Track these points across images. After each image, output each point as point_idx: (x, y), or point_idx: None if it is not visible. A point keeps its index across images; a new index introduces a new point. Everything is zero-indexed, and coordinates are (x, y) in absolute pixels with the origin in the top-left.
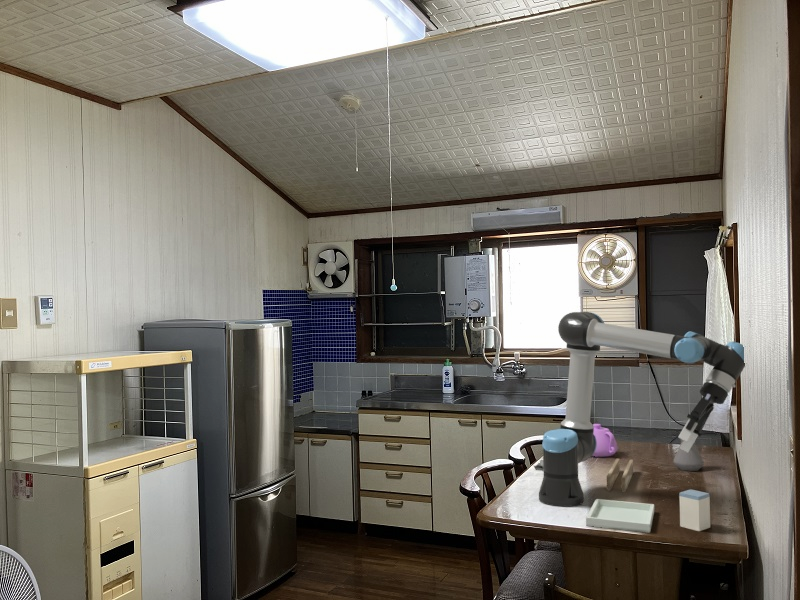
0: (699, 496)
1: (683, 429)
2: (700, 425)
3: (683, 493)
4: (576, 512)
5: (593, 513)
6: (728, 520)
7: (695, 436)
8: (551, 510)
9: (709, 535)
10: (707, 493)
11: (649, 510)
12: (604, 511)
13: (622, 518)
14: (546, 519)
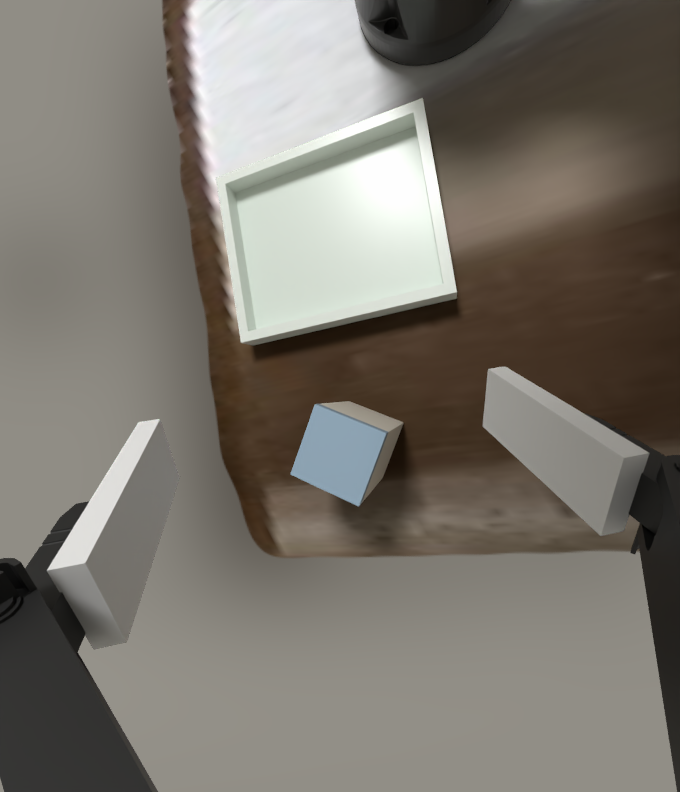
0: (297, 477)
1: (112, 473)
2: (658, 624)
3: (311, 419)
4: (328, 104)
5: (291, 165)
6: (486, 523)
7: (582, 504)
8: (311, 35)
9: None
10: (354, 499)
11: (371, 302)
12: (359, 172)
13: (317, 246)
14: (229, 78)
